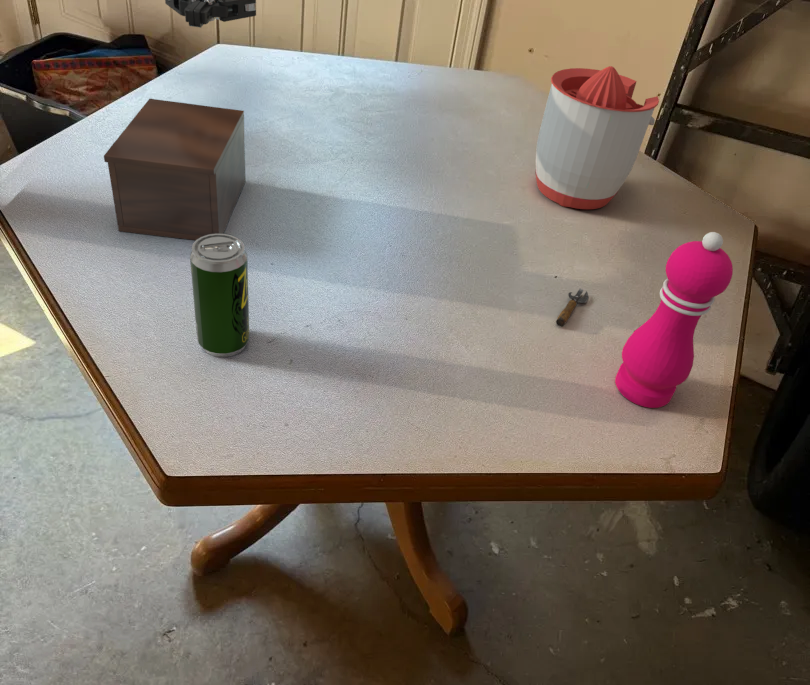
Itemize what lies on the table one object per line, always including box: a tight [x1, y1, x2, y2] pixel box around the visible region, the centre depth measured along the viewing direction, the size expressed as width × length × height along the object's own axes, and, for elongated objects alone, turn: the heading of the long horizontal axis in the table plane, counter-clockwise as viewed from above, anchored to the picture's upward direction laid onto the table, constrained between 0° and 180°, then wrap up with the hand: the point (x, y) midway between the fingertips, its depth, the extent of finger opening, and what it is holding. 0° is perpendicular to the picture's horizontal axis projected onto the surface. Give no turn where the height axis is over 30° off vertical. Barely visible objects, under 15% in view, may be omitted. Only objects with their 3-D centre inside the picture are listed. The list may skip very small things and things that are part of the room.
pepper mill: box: [614, 231, 734, 409], centre depth 71 cm, size 7×7×20 cm
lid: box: [103, 98, 245, 175], centre depth 88 cm, size 17×13×1 cm
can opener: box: [555, 288, 589, 327], centre depth 87 cm, size 9×2×1 cm, turn 145°
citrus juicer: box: [534, 65, 660, 210], centre depth 106 cm, size 16×17×20 cm
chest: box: [107, 116, 246, 241], centre depth 92 cm, size 17×13×10 cm
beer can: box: [189, 233, 250, 358], centre depth 71 cm, size 5×5×12 cm
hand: (194, 18), depth 89 cm, fingers closed
